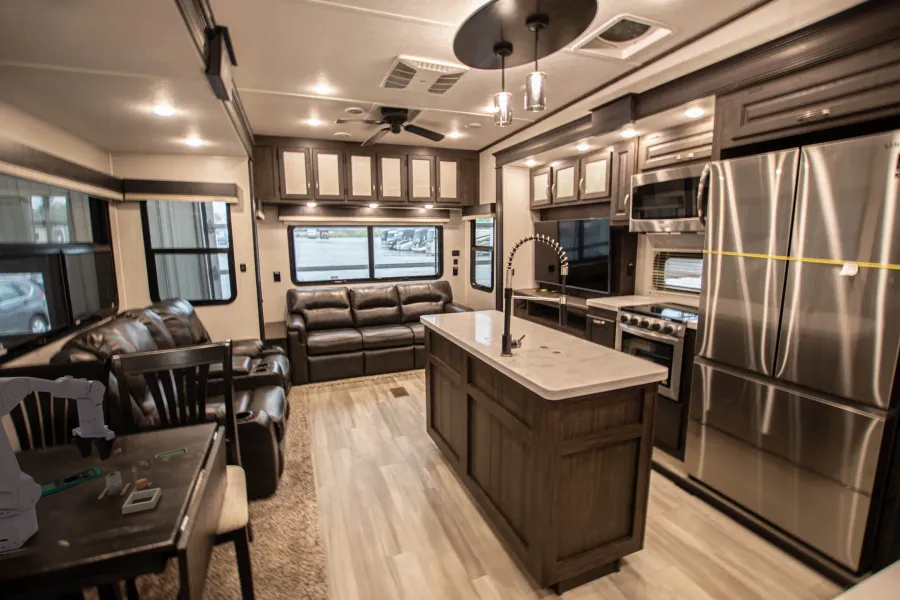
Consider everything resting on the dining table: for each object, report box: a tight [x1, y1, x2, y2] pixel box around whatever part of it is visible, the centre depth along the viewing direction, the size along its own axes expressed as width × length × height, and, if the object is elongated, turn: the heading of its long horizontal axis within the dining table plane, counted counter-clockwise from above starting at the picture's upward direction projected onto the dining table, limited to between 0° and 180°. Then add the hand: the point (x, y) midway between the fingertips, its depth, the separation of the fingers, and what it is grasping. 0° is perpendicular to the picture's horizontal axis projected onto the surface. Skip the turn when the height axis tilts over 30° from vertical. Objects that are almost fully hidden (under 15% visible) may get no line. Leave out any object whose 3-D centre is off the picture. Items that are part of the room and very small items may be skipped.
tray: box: [121, 487, 162, 515], centre depth 119 cm, size 7×7×4 cm
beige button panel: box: [97, 481, 153, 501], centre depth 126 cm, size 11×14×2 cm
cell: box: [104, 471, 123, 496], centre depth 125 cm, size 4×4×6 cm
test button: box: [134, 477, 149, 490], centre depth 127 cm, size 3×3×2 cm
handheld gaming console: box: [154, 447, 189, 459], centre depth 146 cm, size 10×2×15 cm
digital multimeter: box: [39, 467, 102, 500], centre depth 131 cm, size 7×15×3 cm, turn 141°
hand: (96, 457), depth 129 cm, fingers open, 7 cm apart
